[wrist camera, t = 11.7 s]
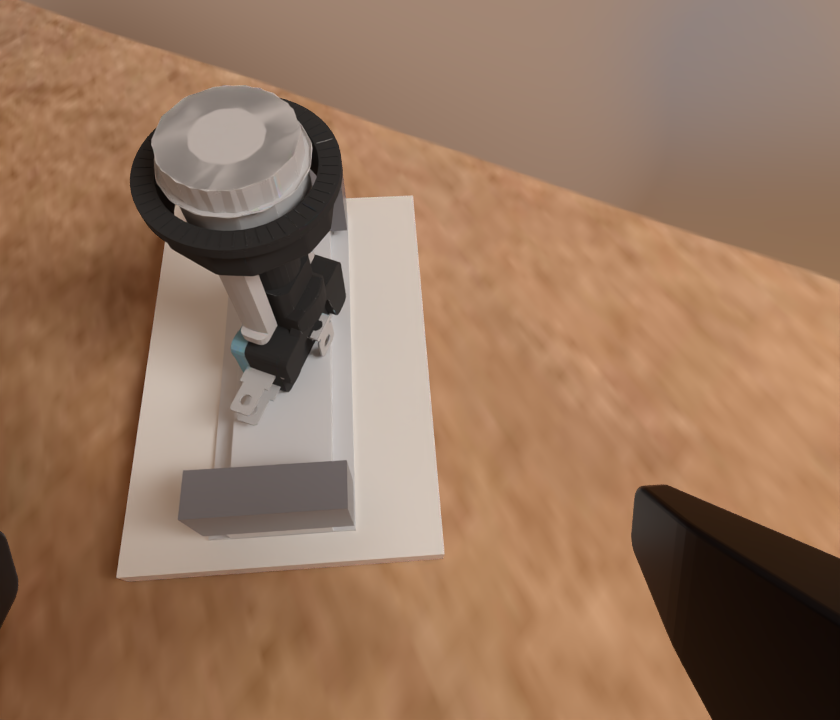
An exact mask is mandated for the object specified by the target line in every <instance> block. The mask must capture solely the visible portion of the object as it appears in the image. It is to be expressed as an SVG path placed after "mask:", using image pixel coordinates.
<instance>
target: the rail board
mask: <svg viewBox="0 0 840 720" xmlns="http://www.w3.org/2000/svg"><path fill="white" fill-rule="evenodd" d="M309 172H310V177H311V182H312V186H313V185H314V182H315V180H316V177H317V176H316V175H315V174H314V173H313V171H312V170H311V169H310V170H309ZM174 215H175V216H176V217H178V218H180V219H181V220H183V221H185V222H187V221H186V219H185V217H184V215H183V213H182V211H181V209H180V207H179V206H178V205H177V206H175V209H174ZM314 254H315V255H319V256H322V257H325V258H328V259H331V260H334V261H338V262H340V263H341V267H342V273H343V279H344V285H345V292H346V299H345V303H344V305H343V307H342V309H341V311H340V313H339V314H338V315H334V314H331V313H329V316H330V317H331V319H330V320H331V321H332V325H333V330H334V337H333V340H332V342H331V344H330V346H329V349H328V351H327V353H326V355H325V356H324V357H321V355H320V351H319V347H318V341H315V343H314V345H313V347H312V349H311V351H310V353H309V355H308V357H307V359H306V361H305V363H304V365H303V367H302V369H301V372H300V374H299V376H298V378H297V380H296V382H295V383H294V385H293V387H292V389H291V390H290V391H289V392H285V391H282V390H279V392H278V394H277V396H276V398H275V400H274V401H271V400H270V401H269V403H268V405H267V407H266V409H265V410H264V412H263V414H262V416H261V418H260V420H259V422H258V424H257V425H255V426H253V425H250V424H247V423H244V422H242V421H239V420H238V419H237V415H238V413H237V412H234V411H232V410H231V408H230V406H231V404H232V402H233V400H234V399H235V397H236V395H237V393H238V391H239V389H240V388H241V386H242V384H243V382H241V381H240V379H241V377H242V375H243V371H242V370H241V368H240V366H239V364H238V362H237V361H236V359H235V357H234V356H233V355H232V353H231V349H230V347H231V343H232V340H233V338H234V337H235V335H236V333H237V331H239V330H240V328H241V326H242V323H241V321H240V319H239V317H238V315H237V313H236V310H235V308H234V306H233V304H232V302H231V300H230V298H229V296H228V294H227V292H226V290H225V287H224V285H223V283H222V281H221V279H220V277H219V275H217V274H214V273H212V272H211V271H209V270H207V269H205V268H204V267H202V266H200V265H198V264H197V263H195V262H193V261H191V260H190V259H188V258H186V257H184V256H183V255H181V254H179V253H177V252H176V251H174V250H172V249H171V248H170V247H169V245H168V243H167V242H165V246H164V253H163V259H162V266H161V273H160V280H159V287H158V294H157V301H156V308H155V314H154V321H153V328H152V335H151V342H150V349H149V356H148V363H147V370H146V376H145V383H144V390H143V397H142V404H141V411H140V418H139V425H138V431H137V438H136V445H135V452H134V459H133V466H132V473H131V480H130V486H129V493H128V500H127V507H126V514H125V521H124V528H123V535H122V541H121V548H120V555H119V562H118V569H117V576H116V578H118V579H121V580H125V581H128V582H131V581H144V580H158V579H172V578H185V577H199V576H213V575H227V574H240V573H254V572H268V571H281V570H295V569H309V568H323V567H336V566H350V565H364V564H377V563H391V562H405V561H419V560H432V559H443V557H444V543H443V532H442V521H441V509H440V498H439V487H438V475H437V464H436V453H435V441H434V430H433V419H432V407H431V396H430V384H429V373H428V362H427V350H426V339H425V328H424V316H423V305H422V294H421V282H420V271H419V259H418V248H417V237H416V225H415V214H414V203H413V196H392V197H368V198H346V195H345V187H344V179H343V177H342V184H341V188H340V191H339V195H338V197H337V199H336V201H335V203H334V208H333V217H332V225H331V229H330V231H329V232H328V234H327V235H326V236H325V237H324V238H323V239H322V240H321V242H320V243H319V244H318V245H317V246H316V247H315V248H314ZM327 340H328V336H327V338H326V341H325V345H326V343H327ZM247 396H248V395H245V396H243V397H242V398H241V401H240V402H241V404H242V405H243V404H244V402H245V400H246V398H247ZM257 411H258V407H257V406H256V407H255V409H254V411H253V413H252V415H255V414H256V413H257Z"/></svg>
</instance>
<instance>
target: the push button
mask: <svg viewBox="0 0 840 720" xmlns="http://www.w3.org/2000/svg"><path fill="white" fill-rule="evenodd" d="M310 169H311V170H312V171H313V173H314V174H315V175H316V176H317V177H316V180H315V182H314V185H313V186H312V182H311V177H310V172H309V170H310ZM342 177H343V169H342V161H341V153H340V149H339V145H338V143H337V140H336V138H335V136H334V135H333V133H332V131H331V130H330V129H329V127H328V126H327V125H326V124H325V123H324V122H323V121H322V120H321V119H320V118H319V117H318V116H317V115H315V114H314V113H313V112H311V111H310V110H308V109H306V108H305V107H303V106H300V105H298V104H296V103H294V102H291V101H288V100H285V99H282V98H279V97H278V96H276V95H275V94H274V93H271V92H268V91H265V90H263V89H261V88H253V87H249V86H246V85H243V86H225V85H224V86H220V87H212V88H210V89H207V90H204V91H202V92H199V93H196V94H192V95H189V96H187V97H185V98H183V99H182V100H181V101H180V102H179V103H177V104H176V105H175V106H174V107H173V108H171V109H170V110H169V111H168V112H167V113H165V114H164V115H163V116H162V117H161V119H160V121H159V124H158V126H157V128H156V129H154V130H153V132H152V133H151V134H150V135H149V136H148V137H147V138H146V140H145V141H144V142H143V144H142V145H141V147H140V148H139V150H138V152H137V154H136V156H135V159H134V161H133V165H132V168H131V174H130V188H131V194H132V197H133V201H134V203H135V205H136V207H137V209H138V211H139V213H140V215H141V216H142V218H143V219H144V221H145V222H146V224H147V225H148V227H149V228H150V229H151V230H152V231H153V232H154V233H155V234H156V235H157V236H158V237H160V238H161V239H162V240H164V241H165V242H167V243H168V245H169V247H170V248H171V249H172V250H174V251H176V252H177V253H179V254H181V255H183V256H184V257H186V258H188V259H190V260H191V261H193V262H195V263H197V264H198V265H200V266H202V267H204V268H205V269H207V270H209V271H211V272H212V273H214V274H217V275H219V277H220V279H221V281H222V283H223V285H224V287H225V290H226V292H227V294H228V296H229V298H230V300H231V302H232V304H233V306H234V308H235V310H236V313H237V315H238V317H239V319H240V321H241V323H242V326H241V328H240V330H239V331H237V333H236V335H235V337H234V338H233V340H232V343H231V347H230V349H231V353H232V355H233V356H234V357H235V359H236V361H237V362H238V364H239V366H240V368H241V370H242V371H243V375H242V377H241V379H240V381H241V382H243V384H242V386H241V388H240V389H239V391H238V393H237V395H236V397H235V399H234V400H233V402H232V404H231V406H230V408H231V410H232V411H234V412H237V413H238V415H237V419H238V420H239V421H242V422H244V423H247V424H250V425H253V426H255V425H257V424H258V422H259V420H260V418H261V416H262V414H263V412H264V410H265V409H266V407H267V405H268V403H269V401H270V400H271V401H274V400H275V398H276V396H277V394H278V392H279V390H282V391H285V392H289V391H290V390H291V389H292V387H293V385H294V383H295V382H296V380H297V378H298V376H299V374H300V372H301V369H302V367H303V365H304V363H305V361H306V359H307V357H308V355H309V353H310V351H311V349H312V347H313V345H314V343H315V341H318V347H319V351H320V355H321V357H324V356H325V355H326V353H327V351H328V349H329V346H330V344H331V342H332V340H333V337H334V330H333V325H332V321H331V320H330V319H331V317H330V316H329V313H331V314H334V315H338V314H339V313H340V311H341V309H342V307H343V305H344V303H345V299H346V292H345V285H344V279H343V273H342V267H341V263H340V262H338V261H334V260H331V259H328V258H325V257H322V256H319V255H315V254H314V248H315V247H316V246H317V245H318V244H319V243H320V242H321V240H322V239H323V238H324V237H325V236H326V235H327V234H328V232H329V231H330V229H331V225H332V217H333V208H334V203H335V201H336V199H337V197H338V195H339V191H340V188H341V184H342ZM175 204H176V205H178V206H179V207H180V209H181V211H182V213H183V215H184V217H185V219H186V221H187V222H185V221H183V220H181V219H180V218H178V217H176V216H175V215H174V209H175ZM327 336H328V340H327V343H326V345H325V341H326V338H327ZM245 395H248V396H247V398H246V400H245V402H244V404H243V405H242V404H241V402H240V401H241V398H242V397H243V396H245ZM256 406H257V407H258V411H257V413H256V414H255V415H252V413H253V411H254V409H255V407H256Z"/></svg>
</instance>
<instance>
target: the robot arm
mask: <svg viewBox="0 0 840 720" xmlns="http://www.w3.org/2000/svg"><path fill="white" fill-rule="evenodd" d="M631 539H632V546H633V550H634V553H635V556H636V558H637V560H638V563H639V565H640V568H641V570H642V573H643V575H644V578H645V580H646V583H647V585H648V588H649V590H650V592H651V595H652V597H653V600H654V602H655V605H656V607H657V610H658V612H659V615H660V617H661V619H662V622H663V624H664V627H665V629H666V632H667V634H668V636H669V638H670V641H671V643H672V645H673V647H674V649H675V651H676V653H677V655H678V657H679V659H680V661H681V663H682V665H683V666H684V668H685V670H686V672H687V674H688V676H689V678H690V679H691V681H692V683H693V685H694V687H695V689H696V691H697V692H698V694H699V696H700V698H701V700H702V702H703V704H704V705H705V707H706V709H707V711H708V713H709V715H710V717H711V718H712V720H840V558H838V557H835V556H833V555H831V554H828V553H826V552H824V551H821V550H819V549H817V548H814V547H812V546H809V545H807V544H805V543H802V542H800V541H798V540H795V539H793V538H791V537H788V536H786V535H784V534H781V533H779V532H777V531H774V530H772V529H770V528H767V527H765V526H762V525H760V524H758V523H755V522H753V521H751V520H748V519H746V518H744V517H741V516H739V515H737V514H734V513H732V512H730V511H727V510H725V509H723V508H720V507H718V506H715V505H713V504H711V503H708V502H706V501H704V500H701V499H699V498H697V497H694V496H692V495H690V494H687V493H685V492H683V491H680V490H678V489H676V488H673V487H671V486H668V485H647V486H641V487H639V488H638V489H637V491H636V493H635V498H634V509H633V521H632V533H631ZM17 591H18V576H17V573H16V569H15V566H14V563H13V559H12V556H11V552H10V549H9V545H8V542H7V539H6V537H5V535H4V534H3V533H2V532H1V531H0V628H1V626H2V624H3V622H4V620H5V618H6V616H7V614H8V612H9V610H10V608H11V606H12V604H13V602H14V600H15V597H16V594H17Z"/></svg>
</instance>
